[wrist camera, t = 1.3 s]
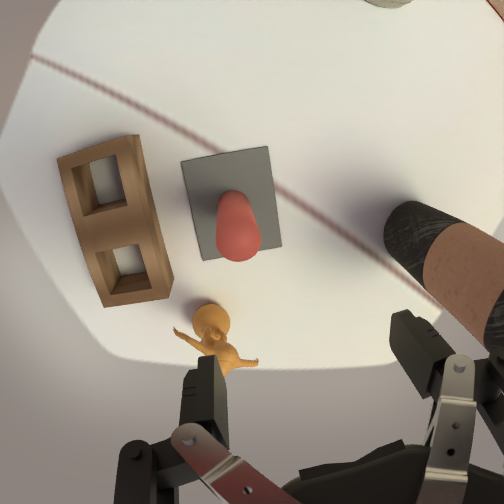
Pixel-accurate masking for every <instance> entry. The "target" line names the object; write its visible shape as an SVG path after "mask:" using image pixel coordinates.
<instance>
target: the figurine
mask: <svg viewBox="0 0 504 504" xmlns="http://www.w3.org/2000/svg"><path fill="white" fill-rule="evenodd" d="M192 326H193V329H194V331H195V333H196V334H197V336H198V337H200V338H201V339H202V340H201V342H199V341H197V340H195V339H193V338H191V337H189V336H188V335H186V334H184V333H181V332H178V331H177V330H176V329H175V328H174V329H173V331H174V333H175V334H176V336H178V337H180V338H181V339H184V340H185V341H186V342H188V343H190V344H191V345H192V346H193V347H195V348H196V349H197V350H199V351H201V352H202V353H203V354H204V355H205V356H208V355H214V354H215V355H216V356H217V359H218V362H219V365H220V367H221V370H222V373H223V376H224V377H225V376H226V375H227V373H228V372H229V371H230V370H231V369H234V368H239V367H254V366H257V365H258V362H259V361H258V359H257V358H256V359H257V360H254V361H252V360H243V359H240V358H239V355H238V352H237V350H236V349H235V348H234V347H233V346H232V345H231V344H229V343H227V342H226V341H227V337H226V334H227V333H228V331H229V328H230V318H229V315H228V314H227V312H226V311H225V310H224V309H223V308H222V307H220V306H218V305H215V304H207V305H204V306H202V307H200V308H199V309H198V310H197V311H196V312H195V314H194V316H193V320H192Z"/></svg>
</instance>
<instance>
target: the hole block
mask: <svg viewBox="0 0 504 504" xmlns="http://www.w3.org/2000/svg"><path fill="white" fill-rule="evenodd" d="M115 154H116V158H117V163H118V167H119V171H120V176H121V180H122V184H123V188H124V193H125V197H126V199H123V200H119V201H115V202H111V203H107V204H103V205H100V206H99V203H98V199H97V196H96V192H95V188H94V184H93V180H92V175H91V171H90V167H89V162H92V161H95V160H98V159H102V158H105V157H108V156H112V155H115ZM57 162H58V167H59V171H60V176H61V180H62V184H63V188H64V192H65V195H66V199H67V203H68V206H69V210H70V213H71V217H72V220H73V224H74V227H75V230H76V233H77V236H78V240H79V243H80V246H81V249H82V252H83V254H84V257H85V260H86V263H87V266H88V269H89V271H90V274H91V277H92V279H93V282H94V284H95V287H96V290H97V292H98V295H99V297H100V300H101V302H102V304H103V307H104V308H106V307H113V306H120V305H127V304H134V303H140V302H147V301H153V300H160V299H166V298H169V295H170V291H171V288H172V284H173V281H174V276H173V273H172V270H171V266H170V262H169V259H168V255H167V252H166V248H165V244H164V241H163V237H162V233H161V229H160V225H159V221H158V217H157V213H156V209H155V205H154V201H153V197H152V193H151V188H150V184H149V180H148V175H147V171H146V166H145V161H144V157H143V152H142V147H141V142H140V137H139V135H131V136H125V137H121V138H118V139H114V140H111V141H108V142H105V143H101V144H98V145H95V146H92V147H89V148H86V149H83V150H80V151H77V152H74V153H72V154H69V155H66V156H63V157H61V158H58V159H57ZM135 244H139V248H140V251H141V255H142V258H143V261H144V264H145V268H146V271H147V272H145V273H140V274H134V275H128V276H123V277H121V275H120V272H119V269H118V266H117V263H116V260H115V257H114V254H113V251H112V249H116V248H120V247H125V246H130V245H135Z"/></svg>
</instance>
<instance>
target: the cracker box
mask: <svg viewBox="0 0 504 504" xmlns="http://www.w3.org/2000/svg"><path fill="white" fill-rule="evenodd" d="M488 1H489V2H490V4H491V5H492V6H493V7H494V8H495V10H496V11H497V12H498V13H499V15H500V16H501V17H502V19H503V20H504V0H488Z"/></svg>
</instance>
